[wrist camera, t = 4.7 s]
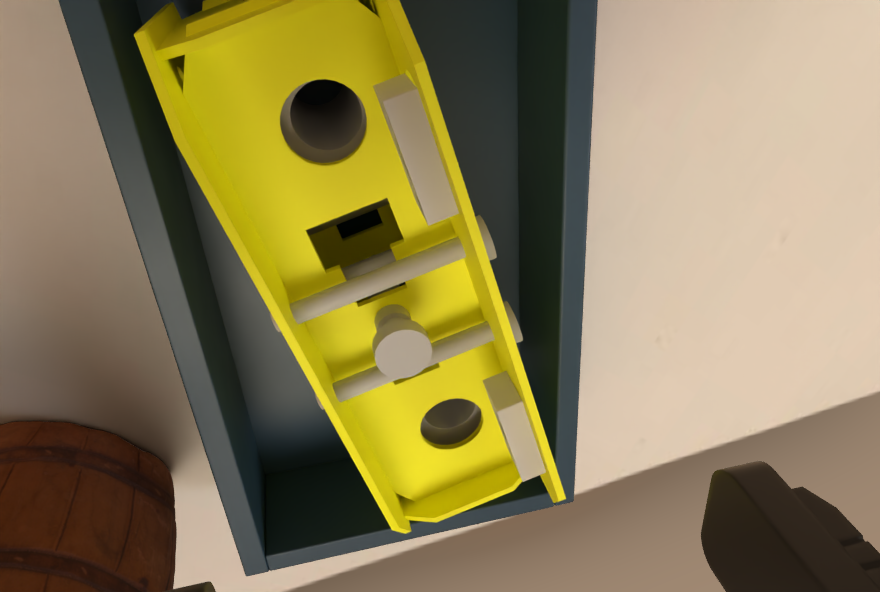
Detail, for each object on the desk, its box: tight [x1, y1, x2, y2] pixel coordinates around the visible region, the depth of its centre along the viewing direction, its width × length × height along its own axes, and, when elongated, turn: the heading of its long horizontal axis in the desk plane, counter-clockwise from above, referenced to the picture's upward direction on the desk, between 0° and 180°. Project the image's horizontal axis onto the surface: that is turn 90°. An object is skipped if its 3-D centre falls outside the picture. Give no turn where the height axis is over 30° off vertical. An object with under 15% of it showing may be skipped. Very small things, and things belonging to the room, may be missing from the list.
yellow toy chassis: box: [134, 0, 566, 534], centre depth 19 cm, size 16×6×8 cm, turn 18°
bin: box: [59, 0, 598, 576], centre depth 21 cm, size 12×22×4 cm, turn 4°
